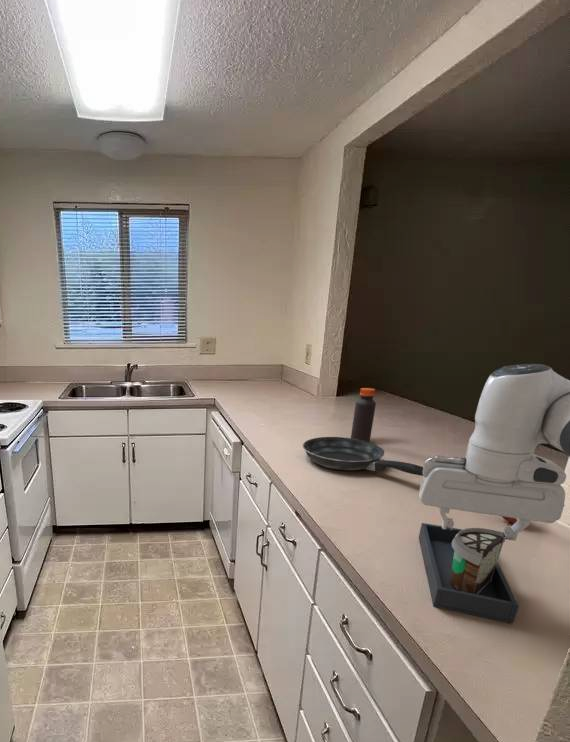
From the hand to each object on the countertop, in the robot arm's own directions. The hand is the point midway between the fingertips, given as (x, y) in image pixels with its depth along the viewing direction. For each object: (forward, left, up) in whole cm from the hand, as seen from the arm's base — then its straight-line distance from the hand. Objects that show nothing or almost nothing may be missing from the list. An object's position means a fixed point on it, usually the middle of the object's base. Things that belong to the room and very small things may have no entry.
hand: (476, 533), depth 78 cm
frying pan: (+19, -58, -12) cm, 62 cm away
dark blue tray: (0, -4, -11) cm, 12 cm away
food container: (0, 0, -11) cm, 11 cm away
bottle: (+19, -88, -12) cm, 91 cm away
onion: (-15, -33, -12) cm, 38 cm away
